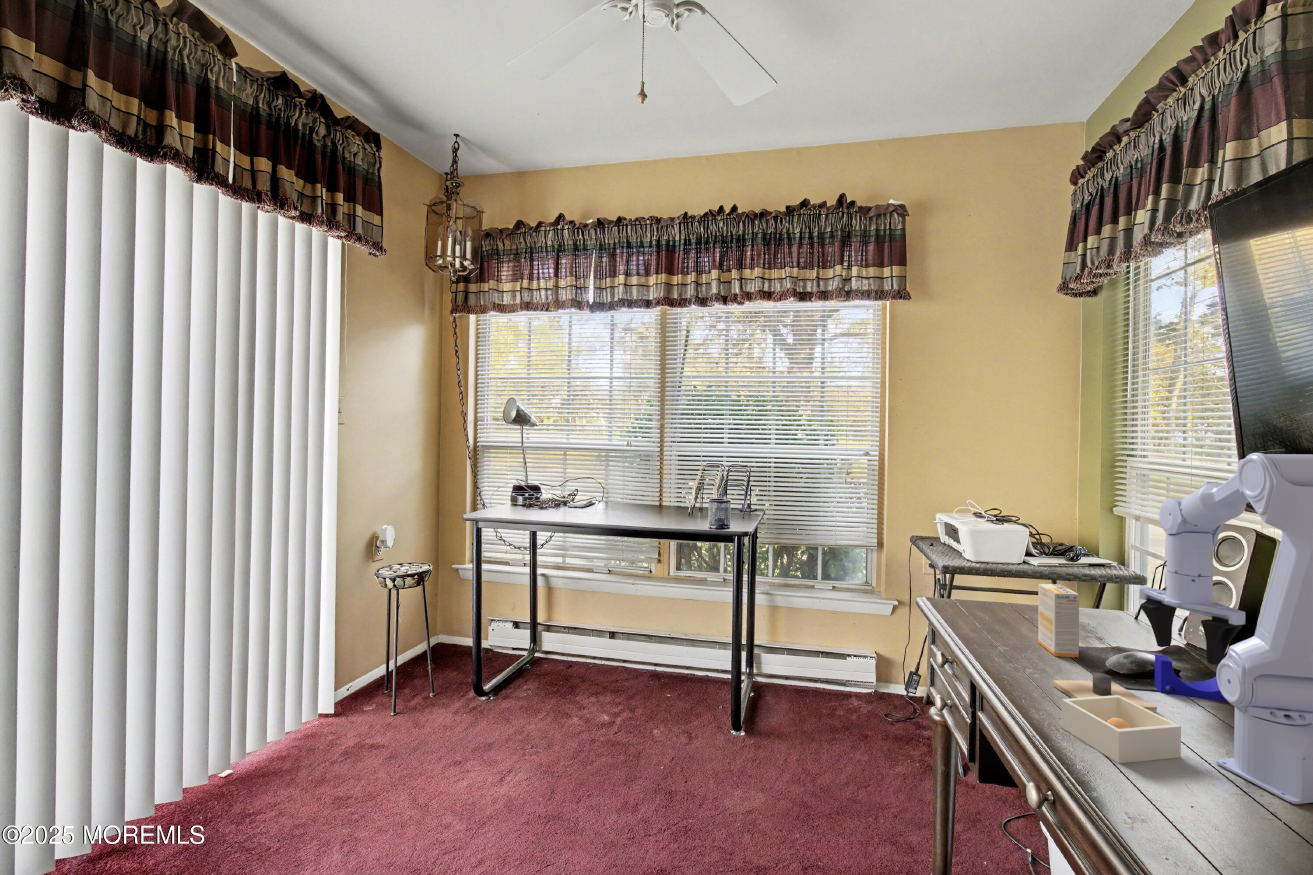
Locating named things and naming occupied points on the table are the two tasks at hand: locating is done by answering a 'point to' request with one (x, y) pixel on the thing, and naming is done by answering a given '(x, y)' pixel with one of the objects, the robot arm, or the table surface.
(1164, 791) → the table surface
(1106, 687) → the oak lid
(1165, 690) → the blue concave arch block
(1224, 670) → the robot arm
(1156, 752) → the cream box
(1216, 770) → the table surface
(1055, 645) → the supplement box
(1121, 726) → the orange ball
